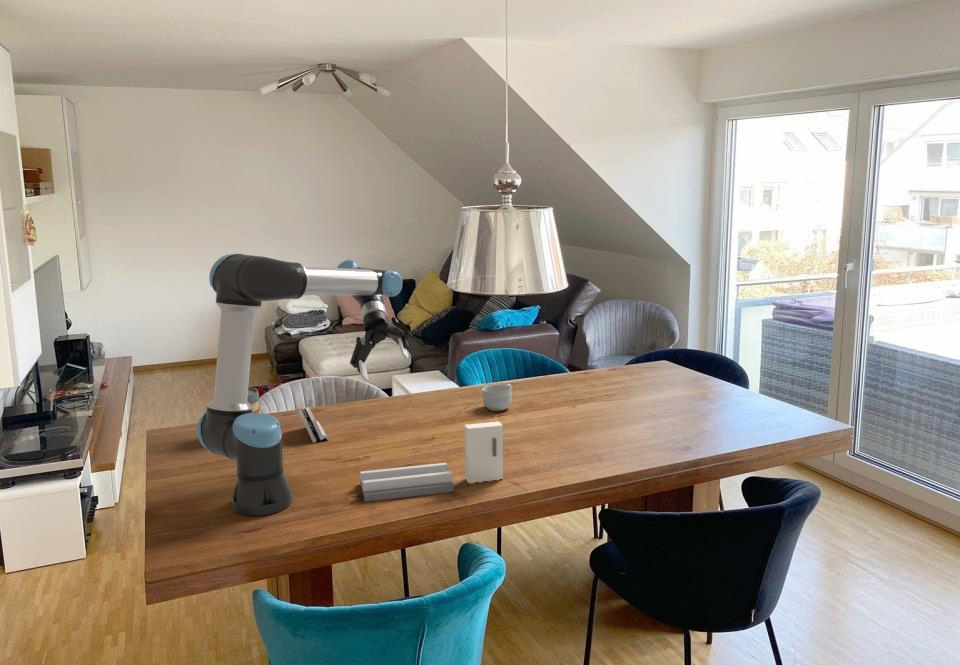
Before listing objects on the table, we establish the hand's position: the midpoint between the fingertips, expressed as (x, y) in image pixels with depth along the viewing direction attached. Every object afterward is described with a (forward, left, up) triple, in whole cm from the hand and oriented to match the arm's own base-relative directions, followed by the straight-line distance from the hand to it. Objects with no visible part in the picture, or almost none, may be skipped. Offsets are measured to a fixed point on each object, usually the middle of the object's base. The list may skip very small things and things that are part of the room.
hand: (384, 367), depth 218 cm
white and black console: (+20, +35, -31) cm, 51 cm away
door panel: (-2, -30, -30) cm, 42 cm away
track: (-13, -10, -30) cm, 34 cm away
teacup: (+63, -18, -30) cm, 72 cm away
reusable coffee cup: (+13, +57, -30) cm, 66 cm away
